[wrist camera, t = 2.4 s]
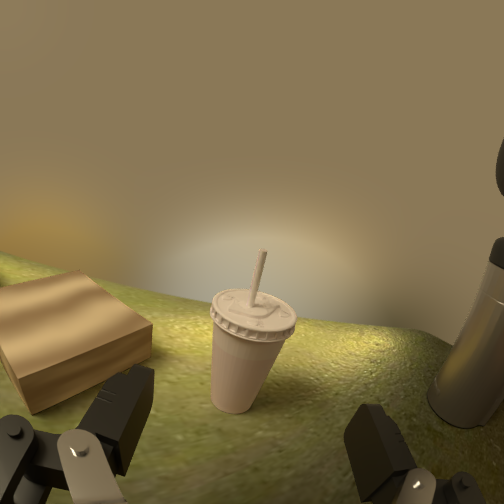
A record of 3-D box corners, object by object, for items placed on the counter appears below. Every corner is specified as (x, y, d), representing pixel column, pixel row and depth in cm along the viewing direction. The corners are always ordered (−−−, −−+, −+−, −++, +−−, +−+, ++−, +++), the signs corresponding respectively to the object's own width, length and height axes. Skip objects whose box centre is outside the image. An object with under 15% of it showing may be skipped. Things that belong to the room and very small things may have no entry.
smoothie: (183, 383, 24) (206, 233, 20) (241, 370, 28) (276, 238, 24) (218, 434, 19) (259, 269, 15) (280, 412, 23) (334, 267, 19)
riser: (150, 356, 26) (152, 323, 25) (31, 415, 14) (18, 378, 13) (79, 298, 32) (79, 270, 31) (-15, 325, 20) (-22, 292, 19)
